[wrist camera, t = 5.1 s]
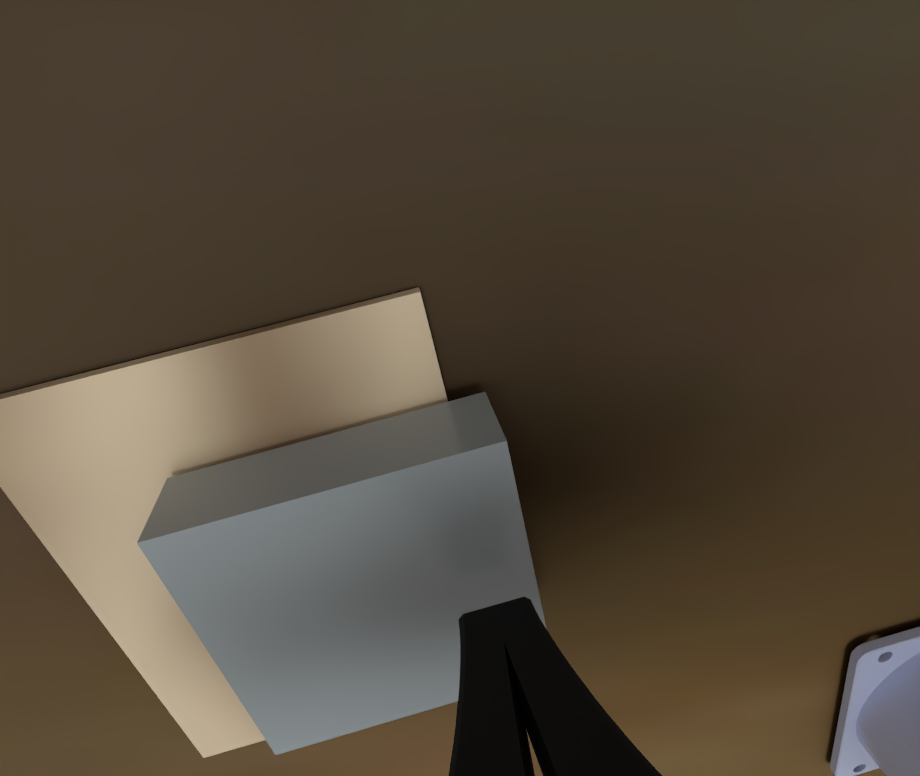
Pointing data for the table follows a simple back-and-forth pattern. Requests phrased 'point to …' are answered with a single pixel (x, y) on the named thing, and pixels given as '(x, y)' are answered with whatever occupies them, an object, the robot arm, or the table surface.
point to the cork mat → (195, 464)
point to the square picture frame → (346, 566)
